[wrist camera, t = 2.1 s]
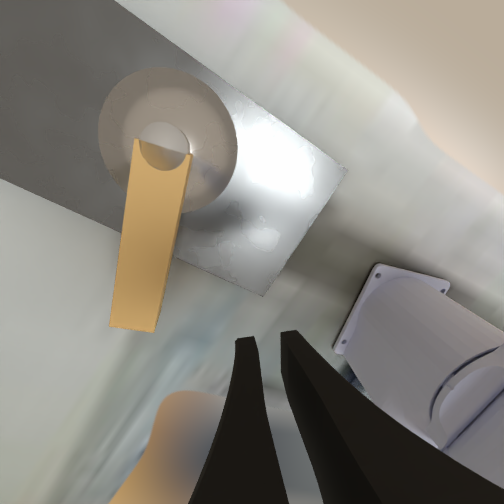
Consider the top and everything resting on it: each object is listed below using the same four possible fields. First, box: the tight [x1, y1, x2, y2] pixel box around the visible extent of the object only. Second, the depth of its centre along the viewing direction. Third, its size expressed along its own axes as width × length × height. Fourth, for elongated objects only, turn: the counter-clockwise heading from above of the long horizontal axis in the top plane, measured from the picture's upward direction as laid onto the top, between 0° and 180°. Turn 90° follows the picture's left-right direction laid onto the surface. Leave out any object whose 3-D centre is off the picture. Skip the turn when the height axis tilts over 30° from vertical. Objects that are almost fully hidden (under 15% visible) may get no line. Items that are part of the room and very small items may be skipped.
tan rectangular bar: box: [109, 122, 193, 333], centre depth 14 cm, size 11×2×2 cm, turn 163°
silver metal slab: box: [0, 0, 348, 297], centre depth 15 cm, size 20×11×3 cm, turn 59°
